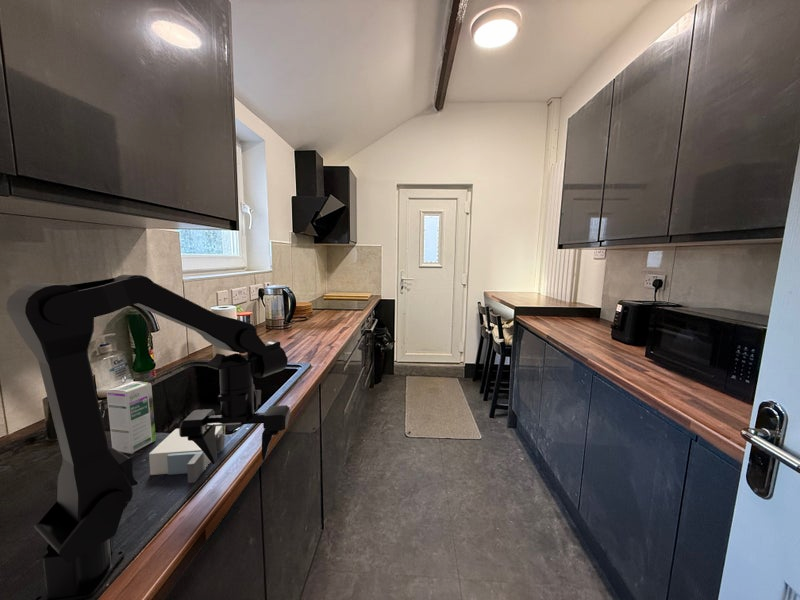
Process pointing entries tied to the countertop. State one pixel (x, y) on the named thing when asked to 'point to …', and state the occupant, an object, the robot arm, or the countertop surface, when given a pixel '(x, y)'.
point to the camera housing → (179, 450)
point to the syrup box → (131, 416)
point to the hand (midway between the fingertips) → (239, 460)
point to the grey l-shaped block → (186, 464)
